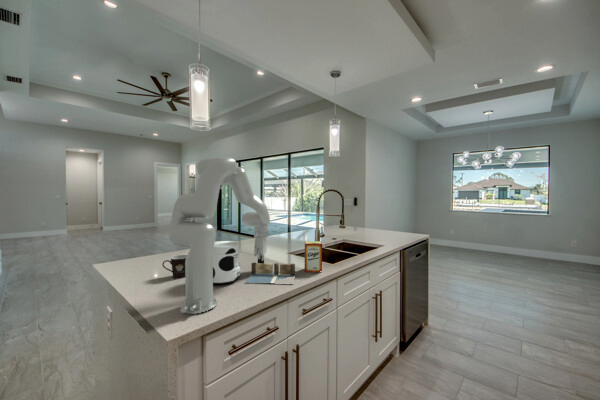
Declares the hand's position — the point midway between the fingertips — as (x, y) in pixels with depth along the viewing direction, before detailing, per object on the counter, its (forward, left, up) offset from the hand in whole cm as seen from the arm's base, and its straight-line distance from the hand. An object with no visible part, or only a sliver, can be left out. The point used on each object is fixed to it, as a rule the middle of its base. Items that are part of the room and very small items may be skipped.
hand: (260, 267), depth 135 cm
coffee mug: (-12, +41, -2) cm, 42 cm away
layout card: (-10, -8, -2) cm, 13 cm away
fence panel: (-6, -2, -1) cm, 6 cm away
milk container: (-16, +16, -2) cm, 22 cm away
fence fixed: (-6, -14, -2) cm, 15 cm away
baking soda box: (+4, -28, -2) cm, 29 cm away
